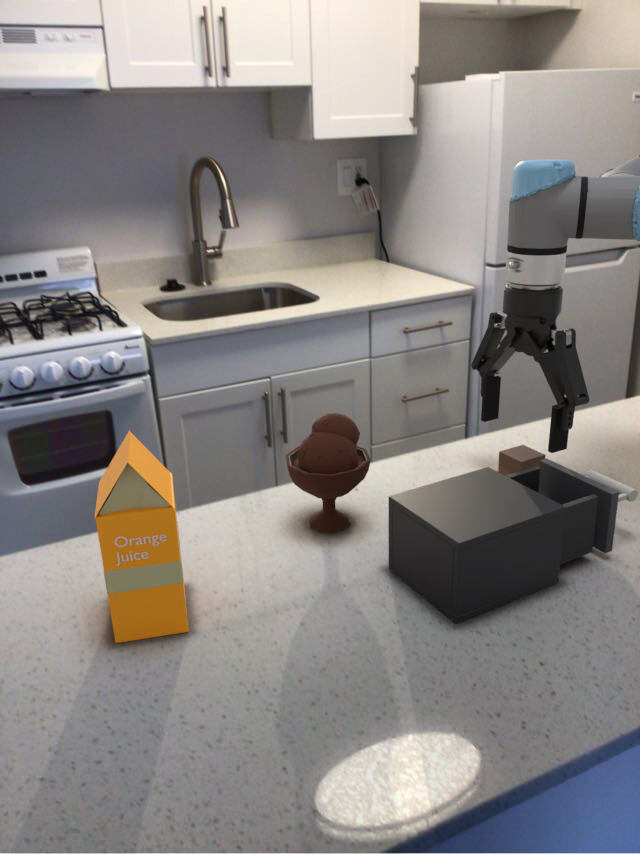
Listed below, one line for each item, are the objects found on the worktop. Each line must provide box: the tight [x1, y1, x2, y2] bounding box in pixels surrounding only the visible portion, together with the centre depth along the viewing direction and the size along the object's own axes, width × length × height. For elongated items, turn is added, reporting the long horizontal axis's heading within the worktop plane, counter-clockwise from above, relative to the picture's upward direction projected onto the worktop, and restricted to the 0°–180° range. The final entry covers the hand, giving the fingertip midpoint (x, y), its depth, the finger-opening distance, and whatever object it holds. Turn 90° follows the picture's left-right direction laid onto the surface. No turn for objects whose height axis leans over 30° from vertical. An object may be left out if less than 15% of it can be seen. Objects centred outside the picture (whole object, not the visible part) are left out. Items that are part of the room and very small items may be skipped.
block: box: [497, 444, 546, 476], centre depth 109 cm, size 5×5×5 cm
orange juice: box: [93, 429, 190, 644], centre depth 79 cm, size 8×9×20 cm
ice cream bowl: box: [284, 412, 372, 534], centre depth 98 cm, size 11×11×15 cm
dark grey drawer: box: [506, 458, 639, 565], centre depth 91 cm, size 20×11×8 cm, turn 119°
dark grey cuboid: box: [388, 466, 565, 624], centre depth 86 cm, size 15×13×10 cm
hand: (521, 434), depth 107 cm, fingers open, 13 cm apart
